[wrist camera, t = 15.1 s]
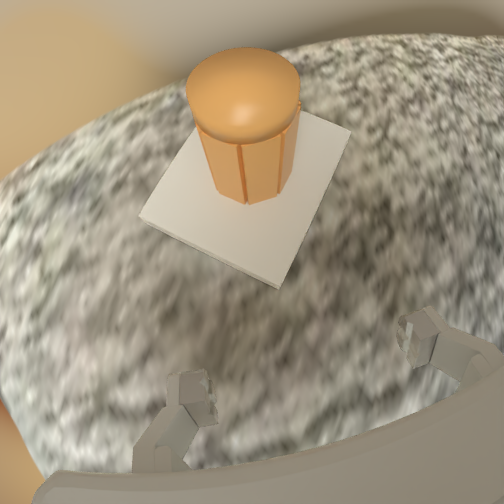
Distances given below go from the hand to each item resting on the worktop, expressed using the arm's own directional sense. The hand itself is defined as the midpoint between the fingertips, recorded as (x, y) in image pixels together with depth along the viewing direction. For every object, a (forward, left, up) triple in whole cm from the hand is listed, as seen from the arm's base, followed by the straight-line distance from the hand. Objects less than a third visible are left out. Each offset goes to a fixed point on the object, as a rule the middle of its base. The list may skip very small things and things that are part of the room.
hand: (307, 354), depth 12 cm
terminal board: (-9, -7, -7) cm, 13 cm away
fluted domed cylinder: (-9, -7, -5) cm, 13 cm away
